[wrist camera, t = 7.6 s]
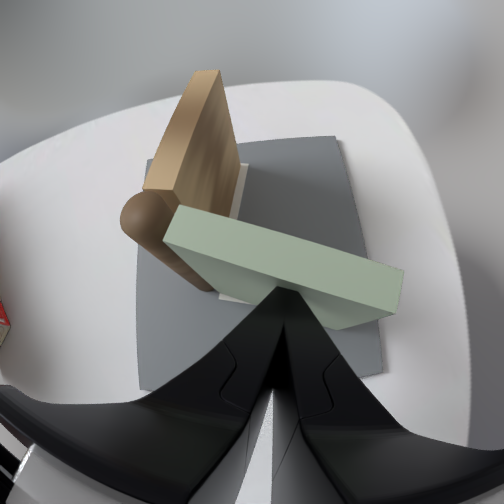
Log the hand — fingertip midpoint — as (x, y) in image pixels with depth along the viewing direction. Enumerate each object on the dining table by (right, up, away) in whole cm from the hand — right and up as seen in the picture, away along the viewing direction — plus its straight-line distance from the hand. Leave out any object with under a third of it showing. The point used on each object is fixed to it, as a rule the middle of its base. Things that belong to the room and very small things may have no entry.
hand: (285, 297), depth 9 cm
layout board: (-1, +1, +8) cm, 8 cm away
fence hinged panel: (+1, -1, +6) cm, 6 cm away
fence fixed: (-3, +3, +8) cm, 10 cm away
